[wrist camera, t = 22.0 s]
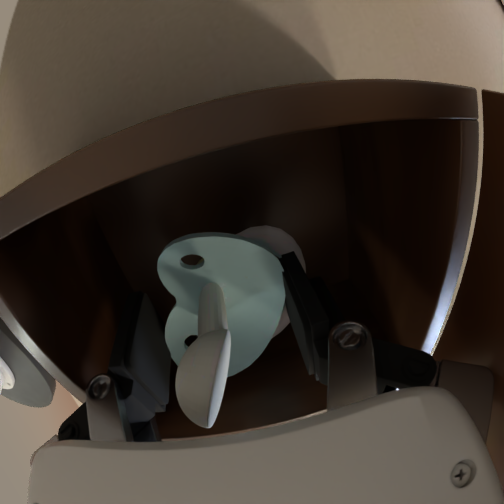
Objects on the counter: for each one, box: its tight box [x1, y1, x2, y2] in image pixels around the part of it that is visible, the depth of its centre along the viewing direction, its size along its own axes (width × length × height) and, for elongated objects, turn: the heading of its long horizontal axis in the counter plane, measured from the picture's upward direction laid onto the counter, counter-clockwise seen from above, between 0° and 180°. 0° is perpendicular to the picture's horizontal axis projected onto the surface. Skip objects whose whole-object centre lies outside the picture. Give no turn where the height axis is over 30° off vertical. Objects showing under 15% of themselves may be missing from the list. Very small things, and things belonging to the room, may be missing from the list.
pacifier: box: [157, 225, 306, 428], centre depth 9 cm, size 7×6×6 cm
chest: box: [0, 79, 479, 441], centre depth 11 cm, size 15×13×9 cm
